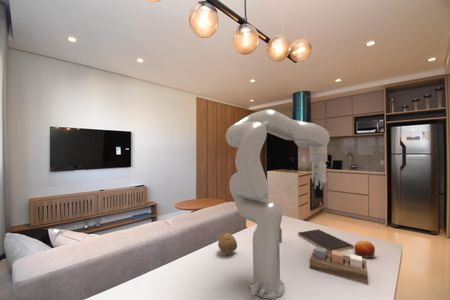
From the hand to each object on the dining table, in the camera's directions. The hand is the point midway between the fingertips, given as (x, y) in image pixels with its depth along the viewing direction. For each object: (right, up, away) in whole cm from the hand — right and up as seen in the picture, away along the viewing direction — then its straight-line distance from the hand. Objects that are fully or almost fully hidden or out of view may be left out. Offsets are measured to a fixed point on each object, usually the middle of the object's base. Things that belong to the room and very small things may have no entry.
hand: (318, 197), depth 94 cm
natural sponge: (-43, -28, +4) cm, 51 cm away
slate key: (-2, -24, -6) cm, 25 cm away
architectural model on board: (-19, -29, +15) cm, 37 cm away
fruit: (+22, -28, +1) cm, 36 cm away
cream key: (+9, -24, -13) cm, 29 cm away
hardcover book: (+11, -29, +17) cm, 35 cm away
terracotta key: (+4, -24, -9) cm, 26 cm away
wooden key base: (+4, -28, -9) cm, 29 cm away
